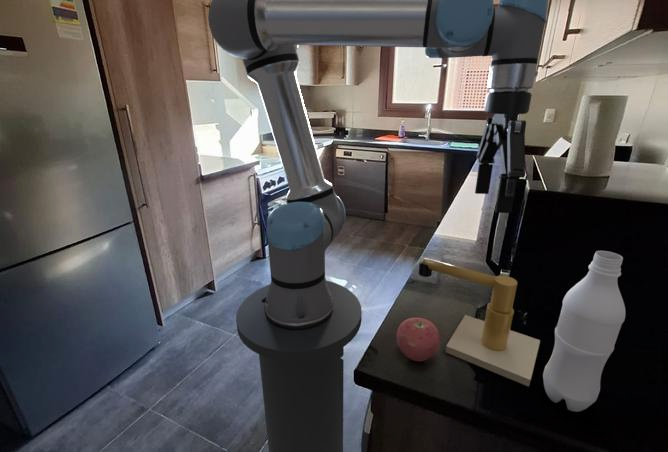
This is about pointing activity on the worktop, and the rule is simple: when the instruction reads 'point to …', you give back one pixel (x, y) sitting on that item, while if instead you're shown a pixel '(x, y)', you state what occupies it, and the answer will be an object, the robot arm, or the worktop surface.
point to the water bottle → (586, 334)
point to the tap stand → (495, 346)
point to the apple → (418, 339)
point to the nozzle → (501, 284)
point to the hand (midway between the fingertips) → (491, 202)
